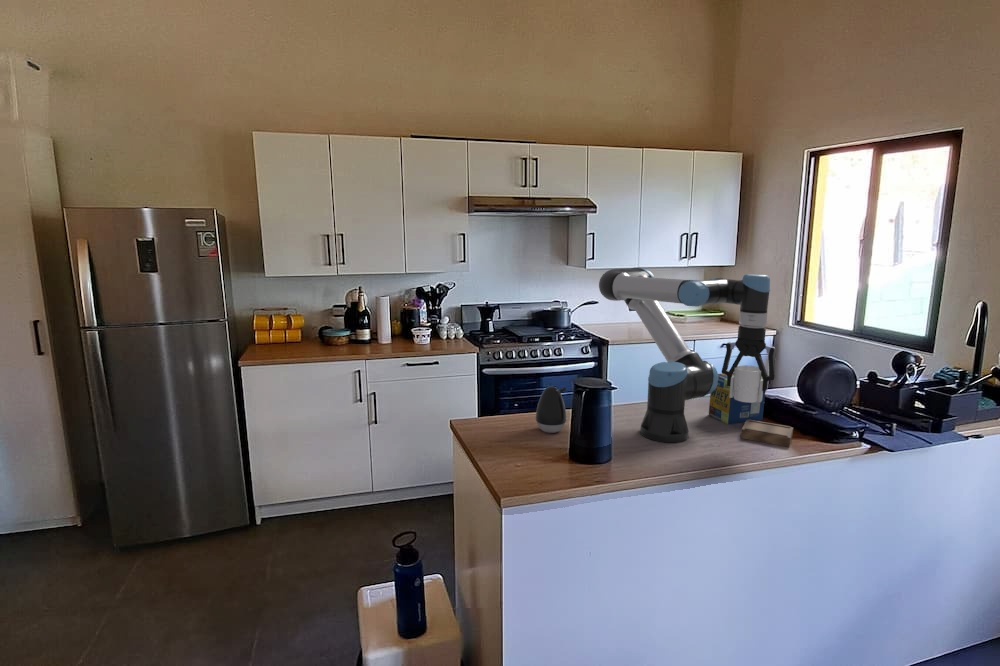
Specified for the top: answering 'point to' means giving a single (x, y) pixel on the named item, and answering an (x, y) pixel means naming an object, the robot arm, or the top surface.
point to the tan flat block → (767, 432)
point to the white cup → (746, 383)
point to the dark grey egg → (551, 410)
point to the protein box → (733, 405)
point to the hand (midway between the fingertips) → (745, 398)
